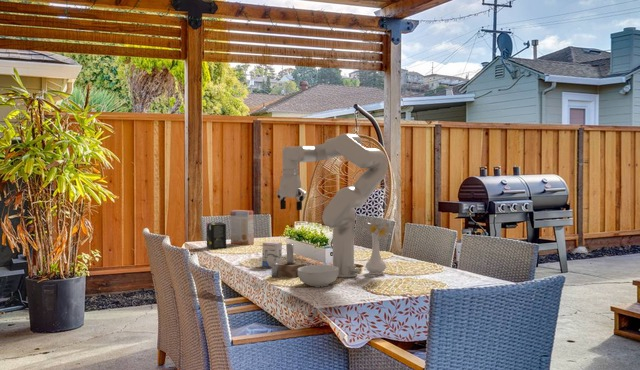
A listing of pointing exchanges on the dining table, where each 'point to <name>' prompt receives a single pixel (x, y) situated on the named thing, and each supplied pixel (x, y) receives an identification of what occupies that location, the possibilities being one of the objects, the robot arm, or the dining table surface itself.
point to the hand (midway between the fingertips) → (291, 209)
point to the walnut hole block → (289, 269)
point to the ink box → (271, 253)
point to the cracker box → (242, 227)
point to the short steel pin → (274, 269)
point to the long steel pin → (290, 254)
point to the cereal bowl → (318, 274)
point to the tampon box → (216, 235)
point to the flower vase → (376, 244)
